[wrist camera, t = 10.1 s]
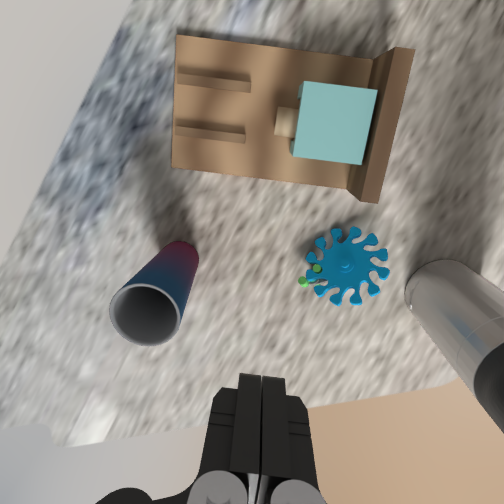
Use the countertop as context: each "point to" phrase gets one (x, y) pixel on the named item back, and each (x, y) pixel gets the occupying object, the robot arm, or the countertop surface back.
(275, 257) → the countertop surface
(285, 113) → the dowel
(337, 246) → the gear
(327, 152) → the block
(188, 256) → the cup
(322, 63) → the board
